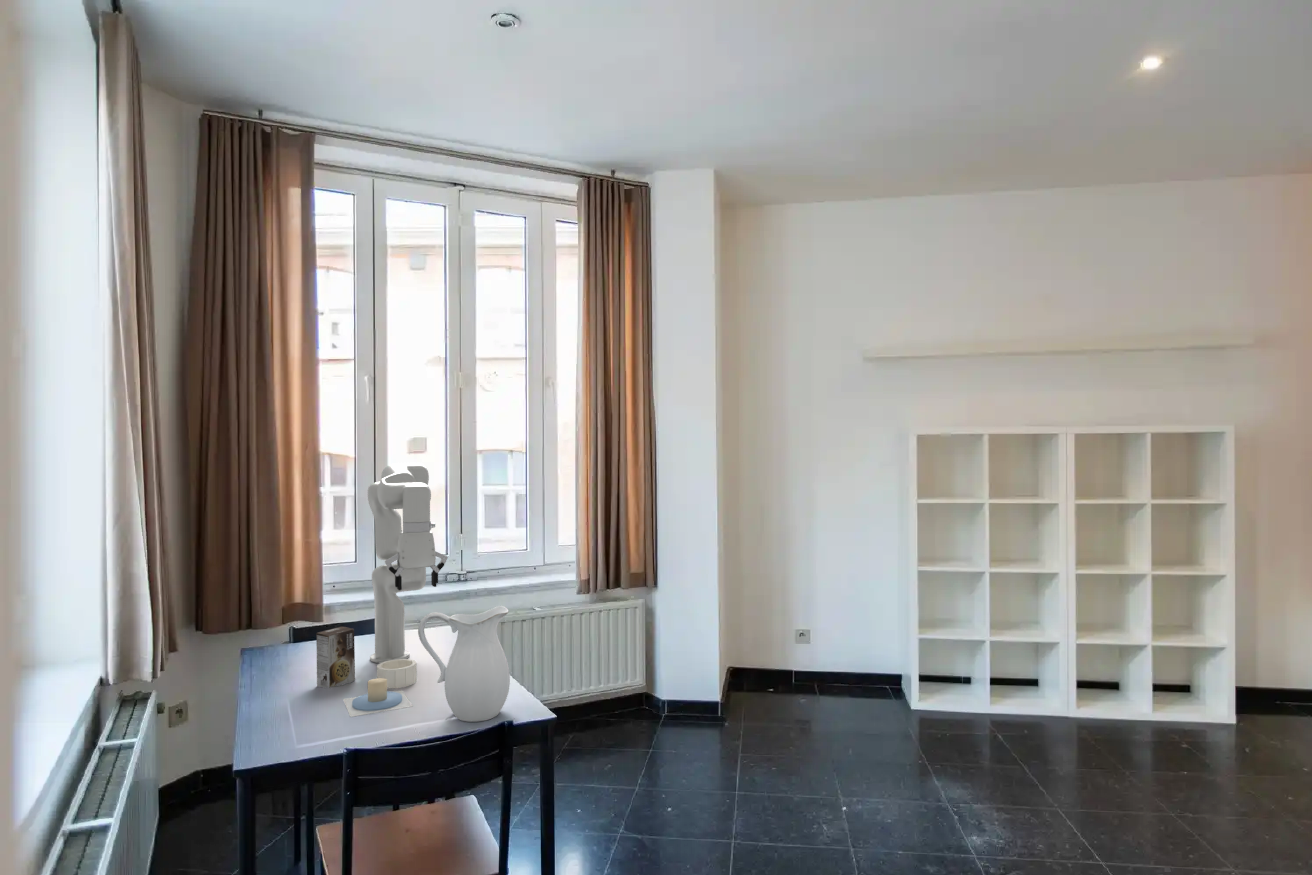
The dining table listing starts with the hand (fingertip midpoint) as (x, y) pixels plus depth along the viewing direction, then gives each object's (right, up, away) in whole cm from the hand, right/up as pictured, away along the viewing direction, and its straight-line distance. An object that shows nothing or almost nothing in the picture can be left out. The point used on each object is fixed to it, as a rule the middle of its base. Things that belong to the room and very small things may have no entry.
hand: (416, 587), depth 217 cm
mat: (-9, -31, -6) cm, 33 cm away
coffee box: (-28, -32, +13) cm, 44 cm away
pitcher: (+17, -31, -15) cm, 39 cm away
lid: (-9, -31, -6) cm, 33 cm away
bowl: (-10, -31, +12) cm, 35 cm away
